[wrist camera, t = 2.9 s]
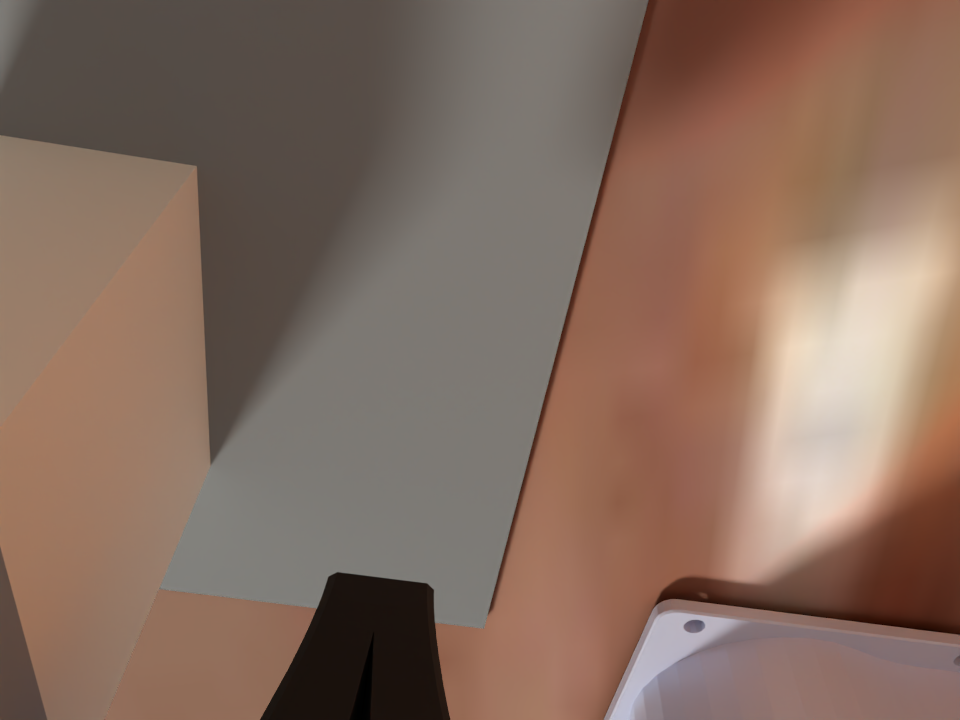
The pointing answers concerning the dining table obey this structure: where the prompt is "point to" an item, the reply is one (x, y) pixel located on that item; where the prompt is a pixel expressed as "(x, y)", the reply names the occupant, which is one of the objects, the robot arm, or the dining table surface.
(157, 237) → the beige rectangular block
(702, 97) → the dining table surface
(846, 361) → the dining table surface
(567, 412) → the dining table surface
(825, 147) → the dining table surface
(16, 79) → the mat
